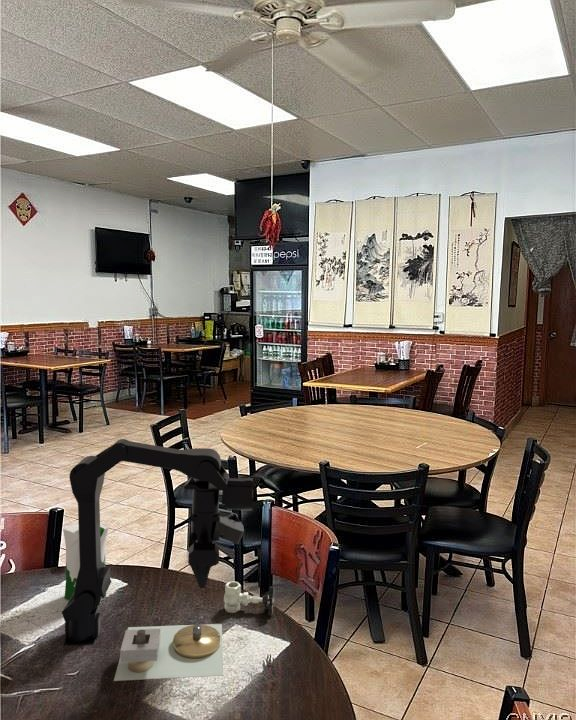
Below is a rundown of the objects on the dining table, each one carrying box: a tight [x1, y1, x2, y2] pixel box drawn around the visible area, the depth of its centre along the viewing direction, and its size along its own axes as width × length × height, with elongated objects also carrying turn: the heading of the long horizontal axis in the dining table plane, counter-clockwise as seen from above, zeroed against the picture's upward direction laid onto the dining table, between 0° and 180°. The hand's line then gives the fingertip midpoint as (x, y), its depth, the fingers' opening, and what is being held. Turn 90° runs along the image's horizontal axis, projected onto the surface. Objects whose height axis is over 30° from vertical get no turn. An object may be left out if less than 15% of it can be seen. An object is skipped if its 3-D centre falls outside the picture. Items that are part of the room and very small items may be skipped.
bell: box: [173, 624, 220, 659], centre depth 119 cm, size 10×10×4 cm
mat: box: [113, 623, 224, 682], centre depth 117 cm, size 21×18×1 cm
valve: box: [223, 580, 276, 616], centre depth 134 cm, size 7×7×12 cm
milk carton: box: [62, 523, 109, 601], centre depth 136 cm, size 9×9×20 cm
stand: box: [128, 630, 154, 673], centre depth 112 cm, size 5×5×7 cm
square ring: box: [119, 629, 161, 662], centre depth 112 cm, size 7×7×2 cm
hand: (202, 577), depth 121 cm, fingers open, 9 cm apart
